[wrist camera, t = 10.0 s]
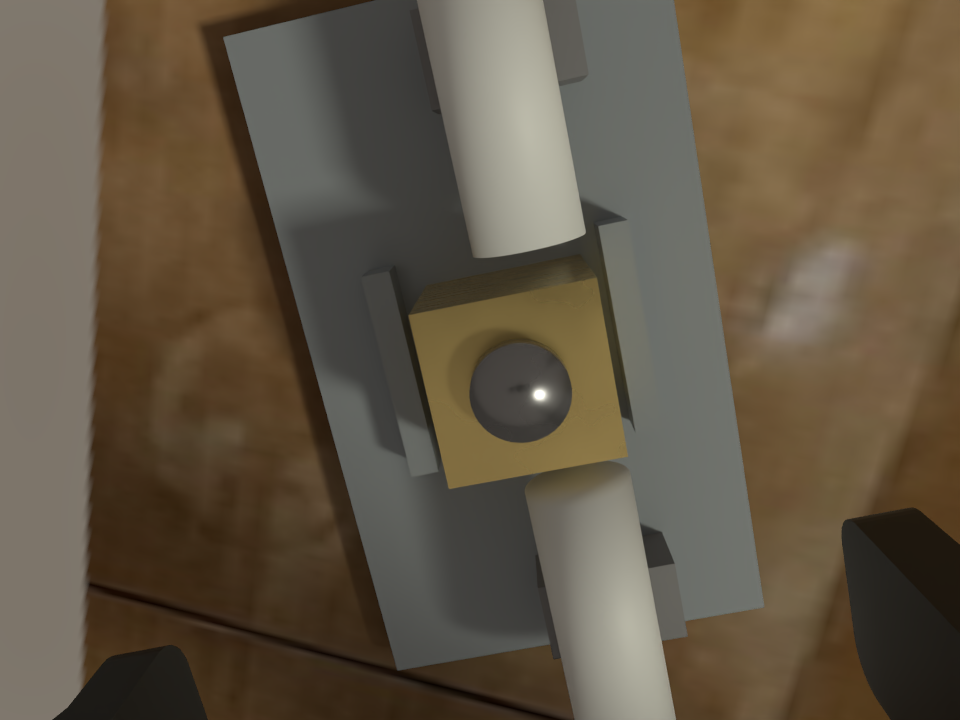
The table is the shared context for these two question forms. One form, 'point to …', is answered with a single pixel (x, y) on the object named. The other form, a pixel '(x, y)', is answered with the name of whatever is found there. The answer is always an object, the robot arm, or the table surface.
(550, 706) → the table surface
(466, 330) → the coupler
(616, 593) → the twin roller base
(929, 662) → the robot arm
